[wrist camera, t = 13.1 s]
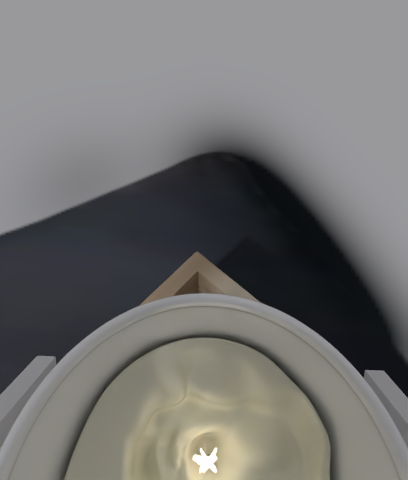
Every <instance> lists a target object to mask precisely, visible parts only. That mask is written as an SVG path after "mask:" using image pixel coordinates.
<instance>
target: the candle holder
mask: <svg viewBox="0 0 408 480" xmlns="http://www.w3.org/2000/svg"><path fill="white" fill-rule="evenodd" d="M0 480H408V448H407V446H406V444H405V442H404V440H403V438H402V436H401V434H400V432H399V430H398V428H397V427H396V425H395V423H394V421H393V420H392V418H391V416H390V415H389V413H388V412H387V410H386V408H385V407H384V405H383V404H382V402H381V401H380V399H379V398H378V397H377V395H376V394H375V392H374V391H373V390H372V388H371V387H370V386H369V384H368V383H367V382H366V381H365V379H364V378H363V377H362V376H361V374H360V373H359V372H358V371H357V370H356V369H355V368H354V367H353V365H352V364H351V363H350V362H349V361H348V360H347V359H346V358H345V357H344V356H343V355H342V354H341V353H340V352H339V351H338V350H337V349H336V348H334V347H333V346H332V345H331V344H330V343H329V342H328V341H326V340H325V339H324V338H323V337H321V336H320V335H319V334H318V333H316V332H315V331H313V330H312V329H311V328H309V327H308V326H306V325H305V324H303V323H302V322H300V321H298V320H297V319H295V318H293V317H291V316H289V315H288V314H286V313H284V312H282V311H280V310H277V309H275V308H273V307H270V306H268V305H265V304H263V303H260V302H257V301H253V300H250V299H246V298H242V297H237V296H232V295H225V294H213V293H195V294H184V295H177V296H171V297H166V298H162V299H158V300H155V301H152V302H149V303H146V304H143V305H140V306H138V307H136V308H133V309H131V310H129V311H127V312H125V313H123V314H121V315H119V316H117V317H115V318H113V319H112V320H110V321H108V322H107V323H105V324H104V325H102V326H101V327H99V328H98V329H96V330H95V331H94V332H92V333H91V334H90V335H88V336H87V337H86V338H84V339H83V340H82V341H81V342H80V343H78V344H77V345H76V346H75V347H74V348H73V349H72V350H71V351H70V352H69V353H67V354H66V355H65V356H64V357H63V358H62V359H61V361H60V362H59V363H58V364H57V365H56V366H55V367H54V368H53V369H52V370H51V371H50V373H49V374H48V375H47V376H46V377H45V379H44V380H43V381H42V382H41V384H40V385H39V386H38V387H37V389H36V390H35V392H34V393H33V394H32V396H31V397H30V399H29V400H28V401H27V403H26V404H25V406H24V408H23V409H22V411H21V412H20V414H19V415H18V417H17V419H16V420H15V422H14V424H13V426H12V427H11V429H10V431H9V433H8V435H7V437H6V439H5V441H4V443H3V445H2V447H1V449H0Z"/></svg>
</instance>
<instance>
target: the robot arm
mask: <svg viewBox="0 0 408 480" xmlns="http://www.w3.org/2000/svg"><path fill="white" fill-rule="evenodd" d="M55 366H56V358H55V357H52V356H37V357H36V358H35V359H34V360H33V361H32V362H31V363H30V364H29V365H28V366H27V367H26V368H25V369H24V371H23V372H22V373H21V374H20V375H19V376H18V377H17V378H16V379H15V380H14V381H13V382H12V383H11V384H10V385H9V386H8V387H7V389H6V390H5V391H4V392H3V393H2V394H1V395H0V449H1V447H2V445H3V443H4V441H5V439H6V437H7V435H8V433H9V431H10V429H11V427H12V426H13V424H14V422H15V420H16V419H17V417H18V415H19V414H20V412H21V411H22V409H23V408H24V406H25V404H26V403H27V401H28V400H29V399H30V397H31V396H32V394H33V393H34V392H35V390H36V389H37V387H38V386H39V385H40V384H41V382H42V381H43V380H44V379H45V377H46V376H47V375H48V374H49V373H50V371H51V370H52V369H53V368H54V367H55ZM364 379H365V381H366V382H367V383H368V384H369V386H370V387H371V388H372V390H373V391H374V392H375V394H376V395H377V397H378V398H379V399H380V401H381V402H382V404H383V405H384V407H385V408H386V410H387V412H388V413H389V415H390V416H391V418H392V420H393V421H394V423H395V425H396V427H397V428H398V430H399V432H400V434H401V436H402V438H403V440H404V442H405V444H406V446H407V448H408V398H407V397H406V396H405V394H404V393H403V392H402V391H401V390H400V389H399V388H398V386H397V385H396V384H395V383H394V382H393V381H392V380H391V378H390V377H389V376H388V375H387V374H386V373H385V372H384V371H378V370H365V373H364Z"/></svg>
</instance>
